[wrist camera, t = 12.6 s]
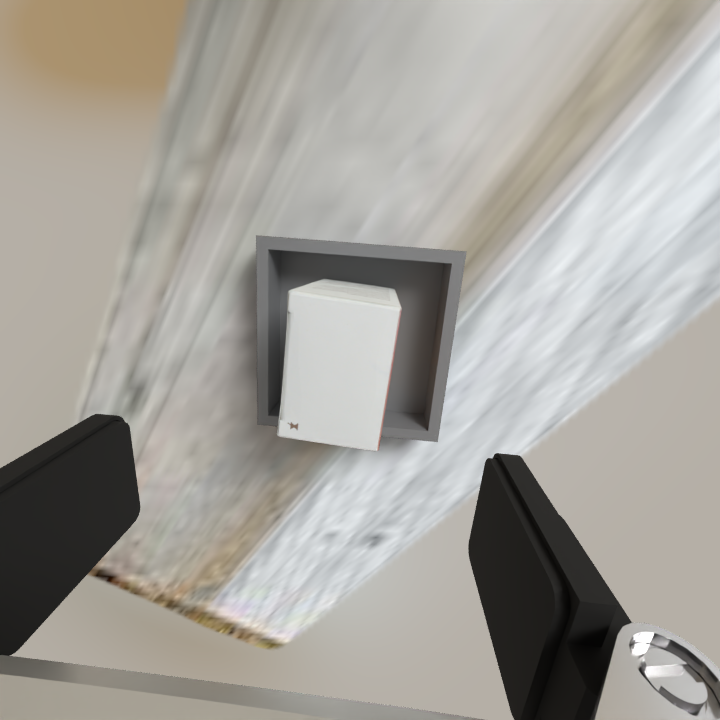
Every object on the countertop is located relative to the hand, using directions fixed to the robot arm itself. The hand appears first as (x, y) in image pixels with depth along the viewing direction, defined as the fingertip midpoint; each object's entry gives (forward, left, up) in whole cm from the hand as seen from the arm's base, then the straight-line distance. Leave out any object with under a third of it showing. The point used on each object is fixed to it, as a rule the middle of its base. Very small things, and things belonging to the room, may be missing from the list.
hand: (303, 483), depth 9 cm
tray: (0, 0, -20) cm, 20 cm away
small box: (0, 0, -20) cm, 20 cm away
